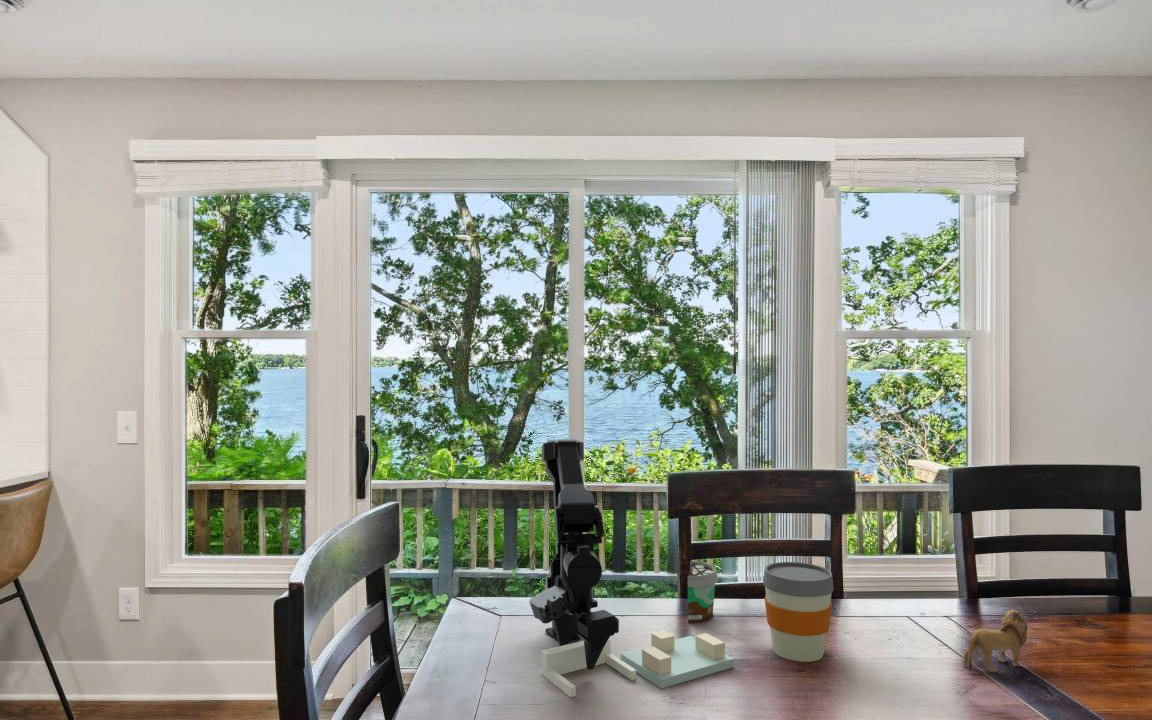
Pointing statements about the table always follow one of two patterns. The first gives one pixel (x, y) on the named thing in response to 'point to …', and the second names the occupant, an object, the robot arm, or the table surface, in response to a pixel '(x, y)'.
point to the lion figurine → (999, 640)
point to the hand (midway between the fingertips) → (576, 659)
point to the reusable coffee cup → (798, 609)
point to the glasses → (577, 664)
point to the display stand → (678, 658)
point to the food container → (701, 591)
